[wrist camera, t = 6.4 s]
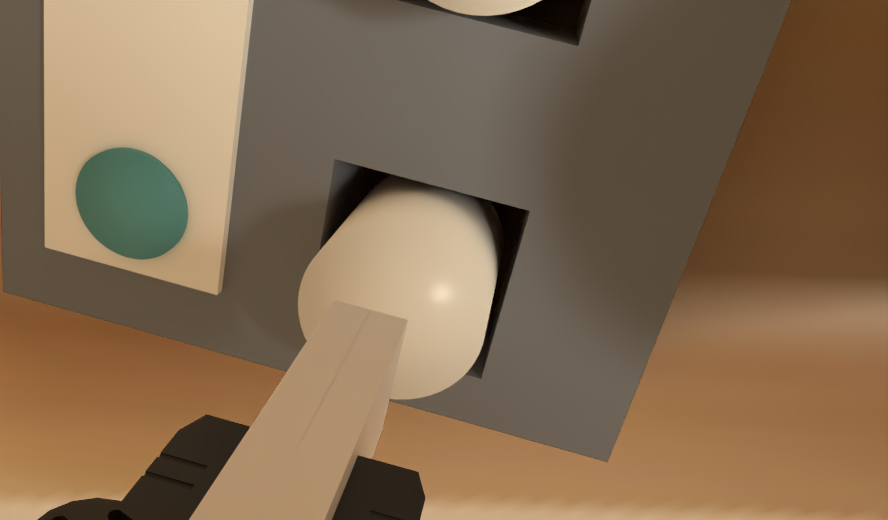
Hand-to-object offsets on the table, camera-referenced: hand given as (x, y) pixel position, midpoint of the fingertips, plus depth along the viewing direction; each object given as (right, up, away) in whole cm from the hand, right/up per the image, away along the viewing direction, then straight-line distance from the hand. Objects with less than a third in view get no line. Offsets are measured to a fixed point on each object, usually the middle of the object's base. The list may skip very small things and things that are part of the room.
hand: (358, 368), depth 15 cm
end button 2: (+1, +3, +7) cm, 7 cm away
